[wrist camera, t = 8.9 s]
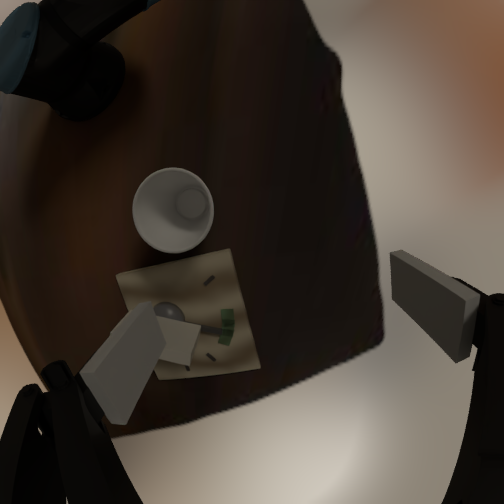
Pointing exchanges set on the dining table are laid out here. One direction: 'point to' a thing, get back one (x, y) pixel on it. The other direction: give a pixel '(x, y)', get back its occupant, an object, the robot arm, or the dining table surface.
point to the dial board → (199, 311)
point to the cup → (173, 210)
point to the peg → (177, 333)
